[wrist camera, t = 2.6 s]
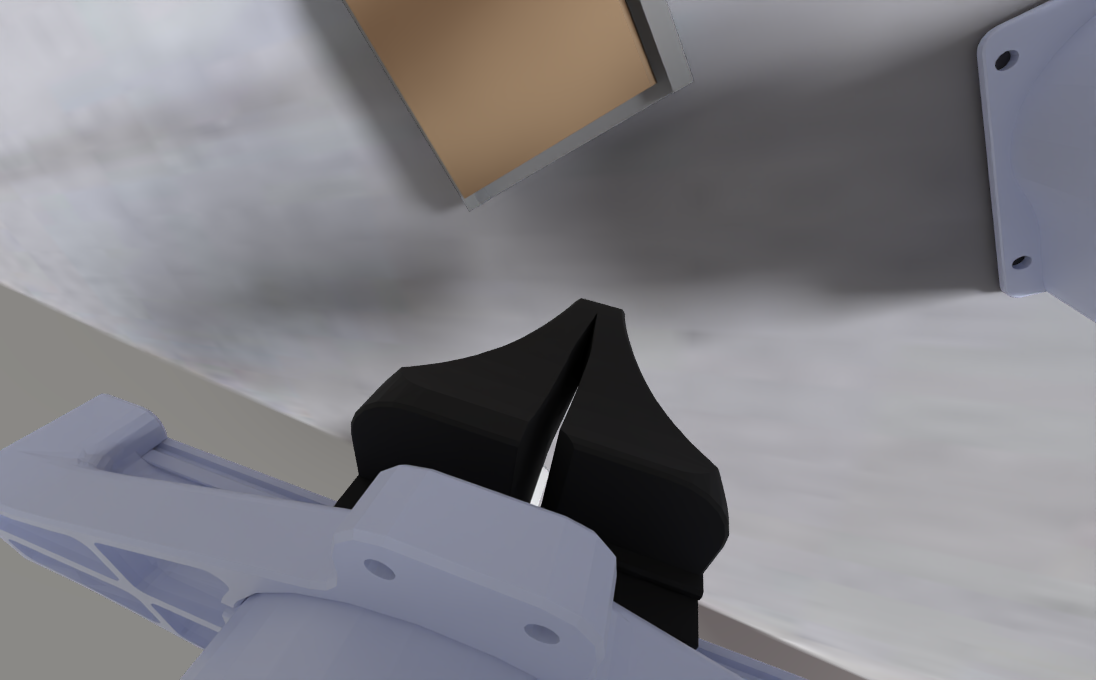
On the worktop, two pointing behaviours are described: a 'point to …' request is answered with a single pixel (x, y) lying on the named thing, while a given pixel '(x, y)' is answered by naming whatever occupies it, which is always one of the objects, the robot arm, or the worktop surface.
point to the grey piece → (670, 77)
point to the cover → (505, 73)
